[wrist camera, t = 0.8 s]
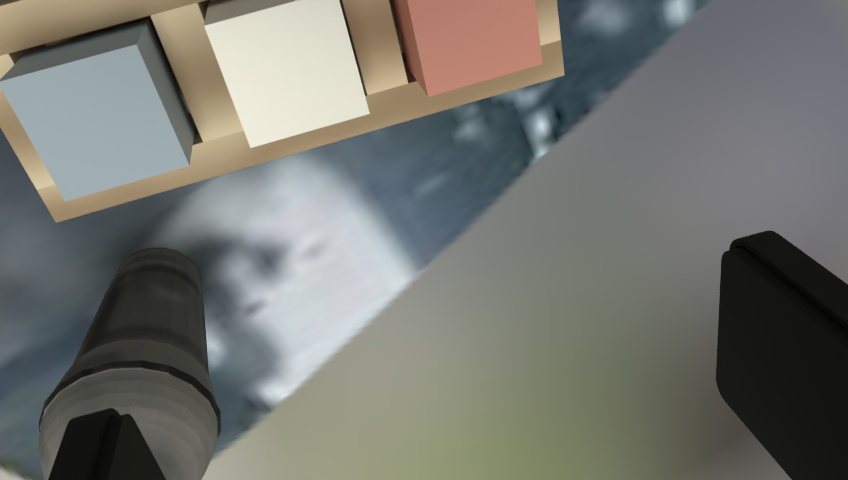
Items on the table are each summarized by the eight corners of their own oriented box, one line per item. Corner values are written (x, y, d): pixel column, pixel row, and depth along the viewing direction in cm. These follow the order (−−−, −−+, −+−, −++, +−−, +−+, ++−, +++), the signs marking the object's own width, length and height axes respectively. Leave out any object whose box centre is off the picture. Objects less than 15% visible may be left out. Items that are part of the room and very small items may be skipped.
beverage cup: (185, 205, 38) (141, 506, 21) (248, 303, 42) (253, 623, 25) (61, 258, 38) (-85, 604, 21) (135, 351, 42) (64, 705, 25)
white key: (208, 2, 29) (204, 25, 25) (325, -29, 29) (336, -11, 26) (249, 114, 32) (250, 148, 28) (356, 83, 32) (369, 113, 29)
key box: (-16, -7, 31) (-61, 22, 26) (499, -142, 33) (542, -138, 28) (80, 171, 36) (56, 222, 31) (524, 45, 38) (564, 75, 33)
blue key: (26, 52, 28) (-3, 82, 25) (148, 19, 29) (136, 44, 25) (84, 161, 31) (64, 201, 28) (195, 129, 31) (189, 165, 28)
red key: (382, -44, 29) (400, -28, 26) (495, -75, 30) (527, -63, 26) (408, 69, 32) (428, 96, 29) (511, 39, 32) (542, 63, 29)
